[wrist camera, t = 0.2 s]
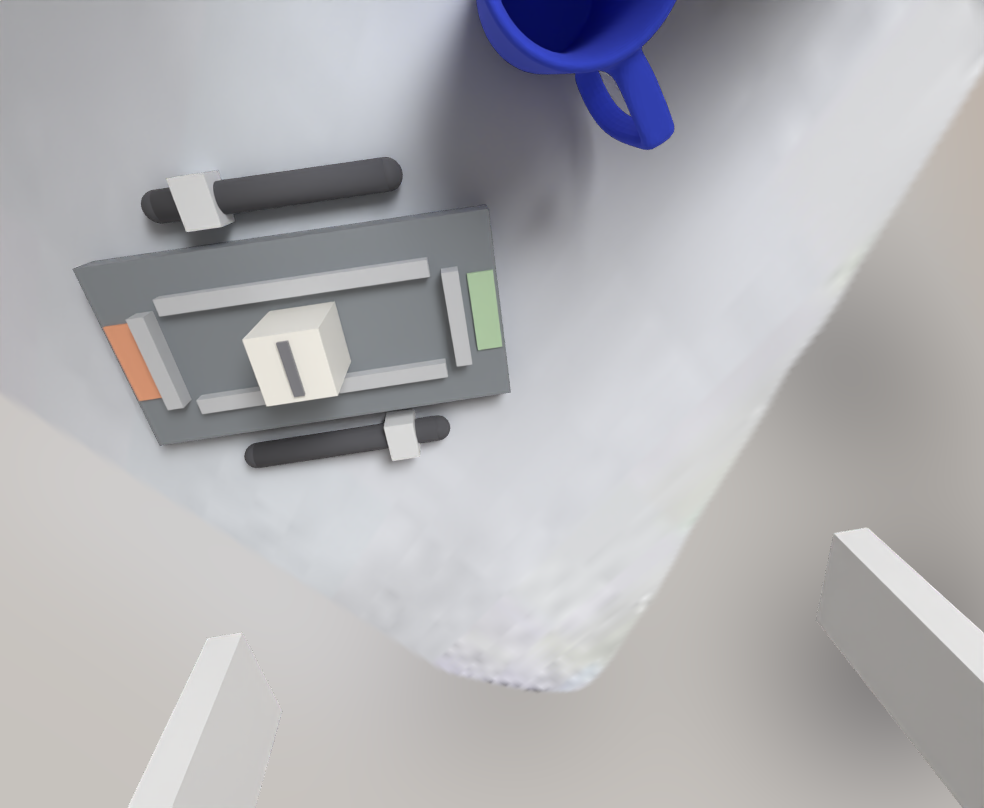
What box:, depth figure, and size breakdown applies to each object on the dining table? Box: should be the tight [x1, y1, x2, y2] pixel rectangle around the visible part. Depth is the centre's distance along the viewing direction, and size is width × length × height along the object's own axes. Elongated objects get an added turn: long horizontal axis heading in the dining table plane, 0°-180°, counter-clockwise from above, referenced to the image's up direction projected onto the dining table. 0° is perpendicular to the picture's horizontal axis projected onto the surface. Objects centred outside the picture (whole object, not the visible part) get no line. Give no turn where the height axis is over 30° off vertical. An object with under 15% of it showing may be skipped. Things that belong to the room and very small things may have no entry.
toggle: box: [242, 301, 351, 406], centre depth 31 cm, size 4×4×5 cm
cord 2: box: [245, 408, 450, 468], centre depth 38 cm, size 3×15×2 cm, turn 97°
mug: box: [476, 0, 676, 150], centre depth 24 cm, size 8×12×10 cm
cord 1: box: [141, 157, 403, 232], centre depth 30 cm, size 3×15×2 cm, turn 97°
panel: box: [73, 205, 511, 446], centre depth 34 cm, size 12×24×3 cm, turn 97°
